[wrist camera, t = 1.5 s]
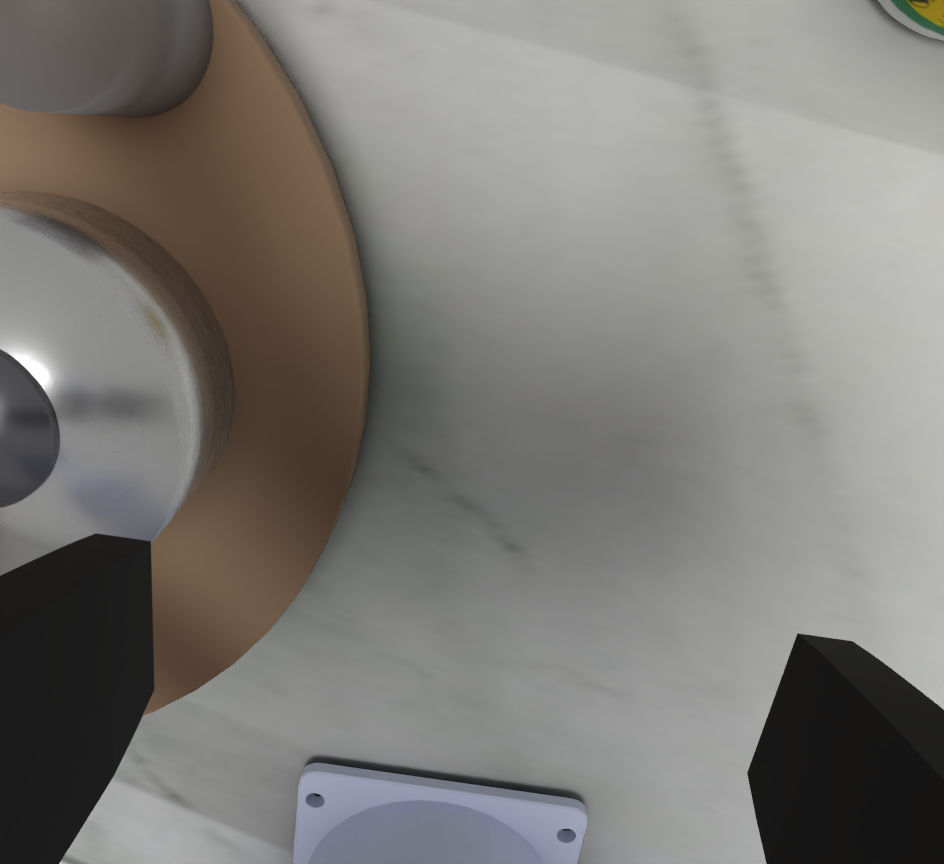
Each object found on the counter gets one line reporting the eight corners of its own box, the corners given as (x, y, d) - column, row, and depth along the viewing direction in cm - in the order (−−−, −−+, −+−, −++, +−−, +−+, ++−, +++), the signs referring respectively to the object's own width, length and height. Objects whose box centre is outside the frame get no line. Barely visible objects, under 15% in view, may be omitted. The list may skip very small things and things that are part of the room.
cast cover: (231, 551, 17) (175, 634, 14) (-91, 505, 17) (-213, 579, 14) (240, 220, 14) (173, 240, 11) (-140, 164, 14) (-300, 171, 11)
